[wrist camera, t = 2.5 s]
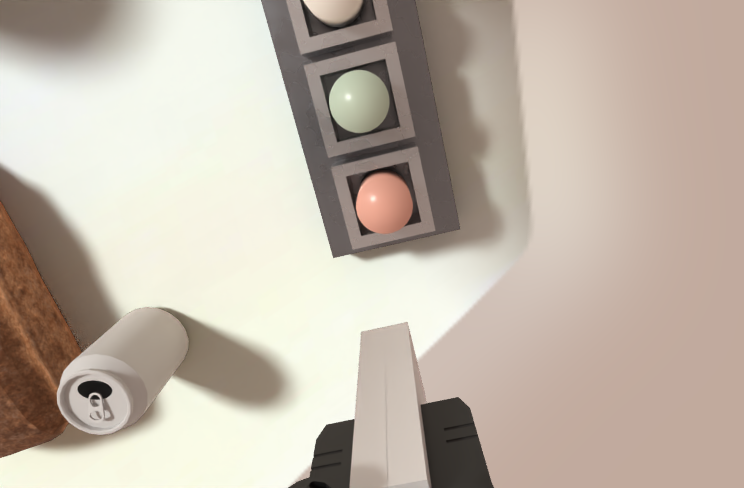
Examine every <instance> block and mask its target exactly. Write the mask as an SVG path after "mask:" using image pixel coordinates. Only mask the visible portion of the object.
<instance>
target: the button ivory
mask: <svg viewBox="0 0 744 488" xmlns="http://www.w3.org/2000/svg"><path fill="white" fill-rule="evenodd" d="M303 1H304V3H305V4H306V6H307V7H308V8H309V9H310V11H311V12H312V13H313V14H314V16H315V17H316V18H317V19H318V20H319V21H320V22H322V23H323V24H325V25H328V26H331V27H343V26H346V25H348V24H350V23H352V22H353V21H354V20H355V19H356V18H357V17H358V16H359V14H360V13H361V11H362V8H363V5H364V0H303Z"/></svg>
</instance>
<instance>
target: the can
mask: <svg viewBox="0 0 744 488" xmlns="http://www.w3.org/2000/svg"><path fill="white" fill-rule="evenodd" d="M188 344H189V339H188V336H187V333H186V330H185V328H184V327H183V326H182V324H181V323H180V321H179V320H178V319H176V318H175V317H174V316H173V315H171V314H170V313H168V312H166V311H163V310H161V309H159V308H151V307H144V308H138V309H135V310H133V311H131V312H129V313H127V314H126V315H125V316H124V317H123V318H121V319H120V320H119V321H118V322H117V323H116V324H115V325H113V326H112V327H111V328H110V329H109V330H108V331H107V332H105V333H104V334H103V335H102V336H101V337H100V338H98V339H97V340H96V341H95V342H94V343H93V344H92V345H90V346H89V347H88V348H87V349H86V350H85V351H84V352H82V353H81V354H80V355H79V356H78V357H77V358H75V359H74V360H73V361H72V362H71V363H70V364H69V365H68V366H67V368H66V369H65V370H64V371H63V374H62V377H61V380H60V385H59V388H58V391H57V404H58V407H59V409H60V411H61V414H62V415H63V416H64V417H65V418H66V420H67V421H68V422H69V423H70V424H72V425H73V426H75V427H76V428H78V429H79V430H82V431H84V432H87V433H90V434H97V435H105V434H112V433H114V432H116V431H119V430H121V429H122V428H126V427H128V426H130V425H132V424H134V423H136V422H137V421H138V420H139V419H140V418H141V417H142V415H143V414H144V413H145V412H146V410H147V409H148V408H149V406H150V405H151V403H152V402H153V401H154V399H155V398H156V397H157V395H158V394H159V393H160V391H161V390H162V389H163V387H164V386H165V384H166V383H167V382H168V380H169V379H170V378H171V376H172V375H173V374H174V372H175V371H176V370H177V368H178V367H179V365H180V364H181V363H182V361H183V360H184V359H185V356H186V354H187V352H188Z"/></svg>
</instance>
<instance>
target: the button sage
mask: <svg viewBox="0 0 744 488" xmlns="http://www.w3.org/2000/svg"><path fill="white" fill-rule="evenodd" d="M329 106H330V111H331V114H332V116H333V118H334V119H335V121H336V122H337V123H338V124H339V125H340V126H341V127H343V128H344V129H346V130H348V131H351V132H355V133H364V132H368V131H371V130H373V129H375V128H376V127H378V126H379V125H380V124H381V123H382V122H383V120H384V119H385V117H386V115H387V113H388V109H389V94H388V90H387V88H386V86H385V84H384V83H383V82H382V80H381V79H380V78H379V77H377V76H376V75H375V74H373V73H371V72H368V71H364V70H354V71H350V72H347V73H345V74H344V75H342V76H341V77H340V78H338V80H337V81H336V82H335V83H334V85H333V87H332V89H331V92H330V96H329Z"/></svg>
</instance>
